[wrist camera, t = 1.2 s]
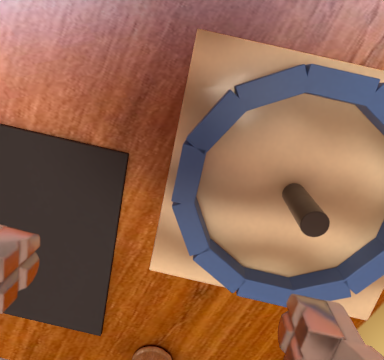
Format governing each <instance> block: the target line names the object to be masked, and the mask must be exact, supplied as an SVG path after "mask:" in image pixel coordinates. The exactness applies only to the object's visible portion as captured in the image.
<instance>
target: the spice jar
mask: <svg viewBox="0 0 384 360" xmlns="http://www.w3.org/2000/svg"><path fill="white" fill-rule="evenodd" d="M132 360H172V358H171V356H170V355H169V354H168V353H167V352H166V351H164V350H163V349H161V348H158V347H154V346H151V347H150V346H148V347H143V348H141V349H139V350H138V351H137V352H136V353H135V354H134V356H133V359H132Z"/></svg>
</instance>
